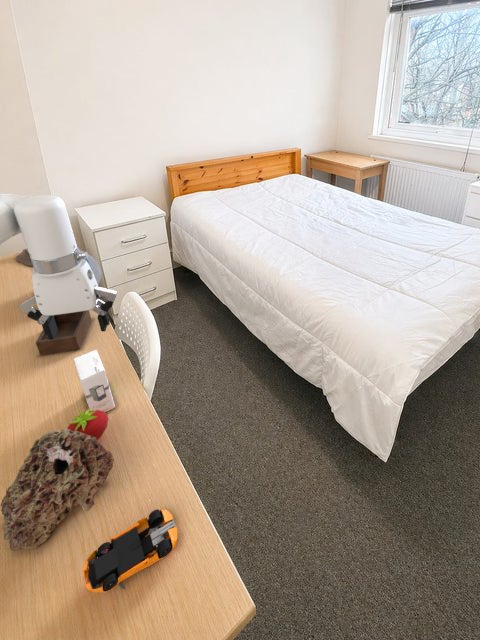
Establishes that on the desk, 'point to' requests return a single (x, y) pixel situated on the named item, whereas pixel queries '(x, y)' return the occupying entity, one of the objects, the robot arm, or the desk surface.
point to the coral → (53, 485)
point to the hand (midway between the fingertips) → (79, 331)
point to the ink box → (94, 381)
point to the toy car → (130, 552)
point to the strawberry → (90, 423)
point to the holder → (65, 333)
